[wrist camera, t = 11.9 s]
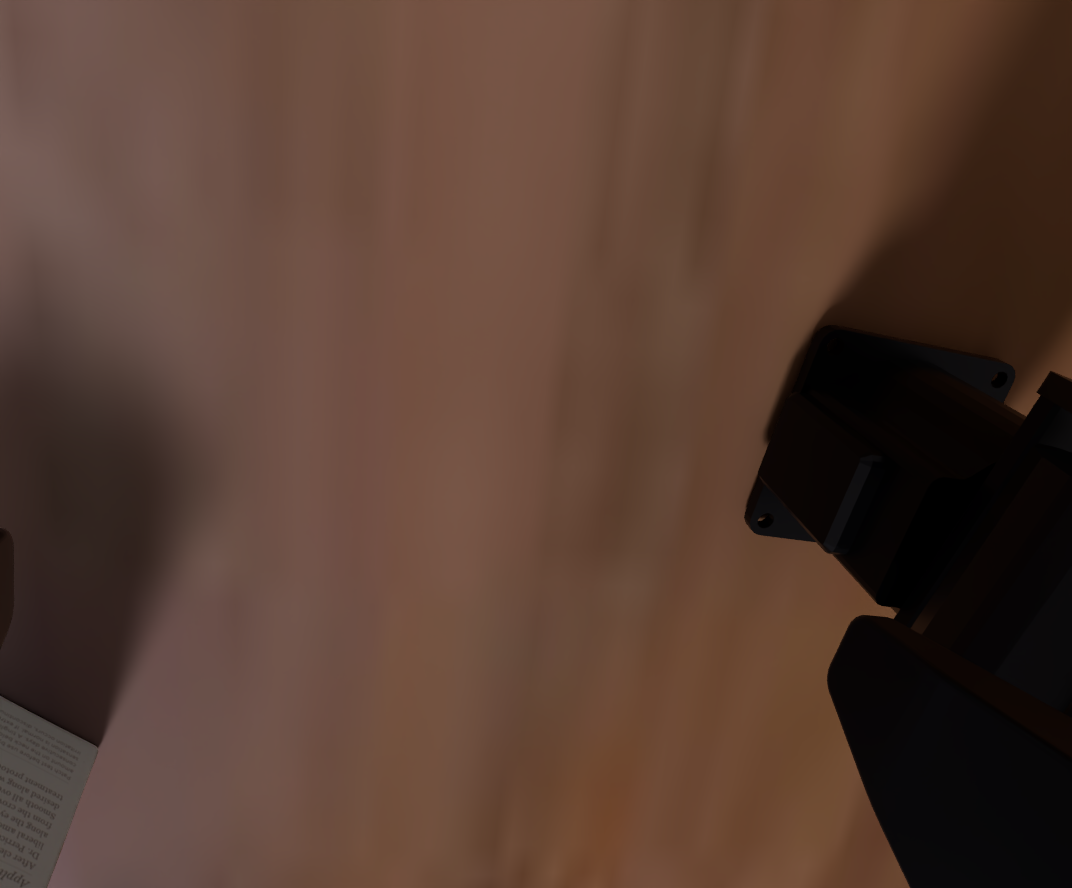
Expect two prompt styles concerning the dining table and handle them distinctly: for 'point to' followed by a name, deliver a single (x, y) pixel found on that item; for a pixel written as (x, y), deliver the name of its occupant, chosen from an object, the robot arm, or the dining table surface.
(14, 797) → the small box
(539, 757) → the dining table surface
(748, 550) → the dining table surface
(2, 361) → the dining table surface
